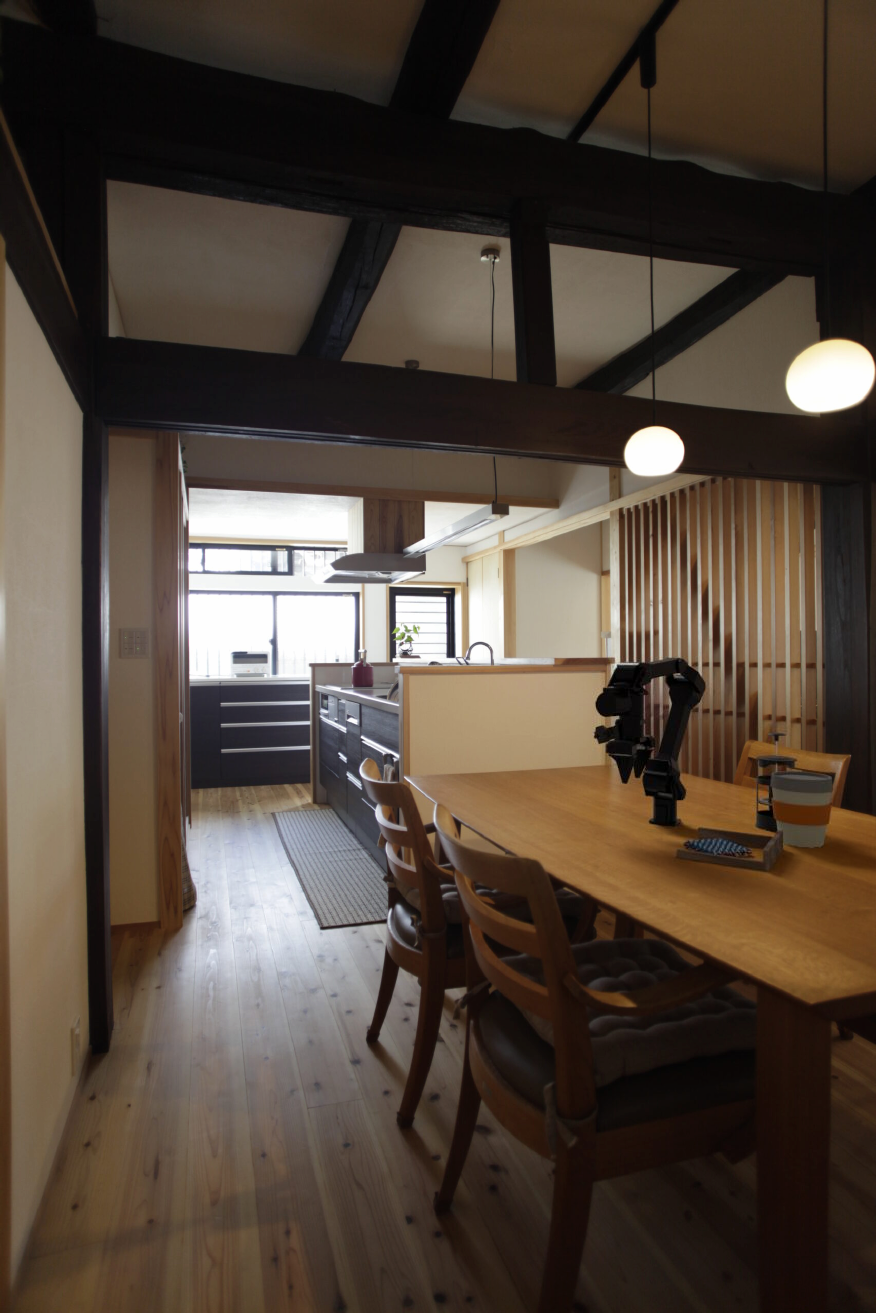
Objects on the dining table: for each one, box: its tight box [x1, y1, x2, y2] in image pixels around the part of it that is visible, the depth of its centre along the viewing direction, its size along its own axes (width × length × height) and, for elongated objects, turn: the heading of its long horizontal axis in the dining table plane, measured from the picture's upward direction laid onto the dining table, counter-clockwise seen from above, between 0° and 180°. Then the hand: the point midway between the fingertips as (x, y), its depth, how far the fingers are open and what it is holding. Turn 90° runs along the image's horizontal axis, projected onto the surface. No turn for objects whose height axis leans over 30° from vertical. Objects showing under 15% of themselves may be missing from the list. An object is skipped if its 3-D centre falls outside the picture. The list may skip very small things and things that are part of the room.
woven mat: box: [682, 838, 753, 858], centre depth 155 cm, size 10×11×2 cm
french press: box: [754, 732, 798, 832], centre depth 177 cm, size 12×9×23 cm
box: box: [676, 826, 784, 872], centre depth 153 cm, size 19×18×4 cm
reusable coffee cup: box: [770, 770, 834, 849], centre depth 162 cm, size 13×13×15 cm
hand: (631, 780), depth 172 cm, fingers open, 9 cm apart
